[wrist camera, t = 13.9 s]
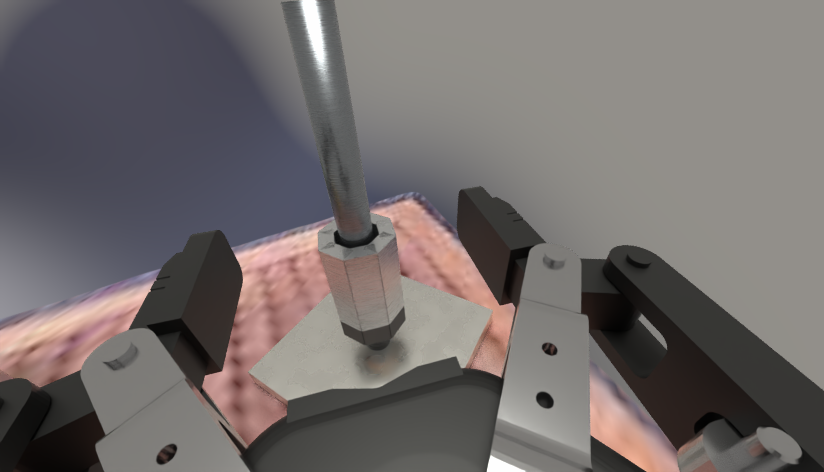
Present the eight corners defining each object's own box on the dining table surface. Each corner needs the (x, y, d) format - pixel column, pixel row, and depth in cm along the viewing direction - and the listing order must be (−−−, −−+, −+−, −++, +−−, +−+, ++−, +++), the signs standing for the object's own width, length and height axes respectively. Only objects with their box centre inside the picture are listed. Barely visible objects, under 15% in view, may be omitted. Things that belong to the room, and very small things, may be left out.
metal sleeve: (325, 313, 29) (301, 244, 24) (364, 273, 32) (351, 206, 28) (377, 340, 26) (362, 268, 21) (413, 293, 30) (407, 223, 25)
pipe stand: (255, 382, 32) (7, 22, 14) (364, 271, 44) (309, 1, 26) (409, 495, 24) (300, -6, 6) (491, 322, 36) (538, -17, 18)
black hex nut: (330, 327, 30) (325, 313, 29) (367, 287, 34) (364, 273, 32) (380, 353, 27) (377, 339, 26) (414, 307, 31) (413, 293, 30)
